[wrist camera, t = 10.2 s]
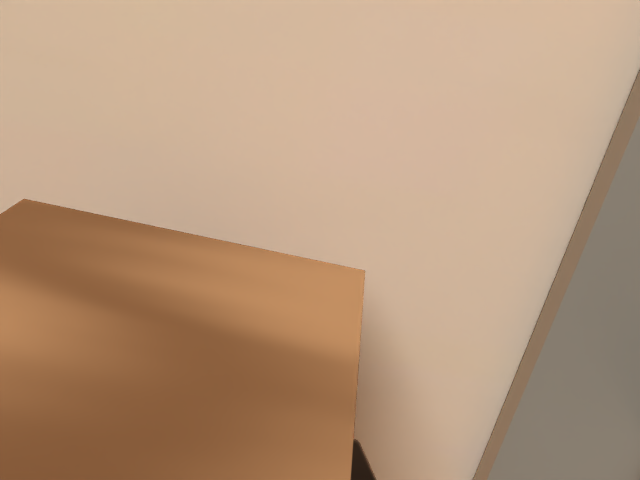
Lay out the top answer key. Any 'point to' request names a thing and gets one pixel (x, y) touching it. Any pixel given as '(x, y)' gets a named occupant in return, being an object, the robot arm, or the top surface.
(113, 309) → the walnut cube
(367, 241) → the top surface
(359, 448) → the robot arm
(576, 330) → the slate coaster
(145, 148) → the top surface
